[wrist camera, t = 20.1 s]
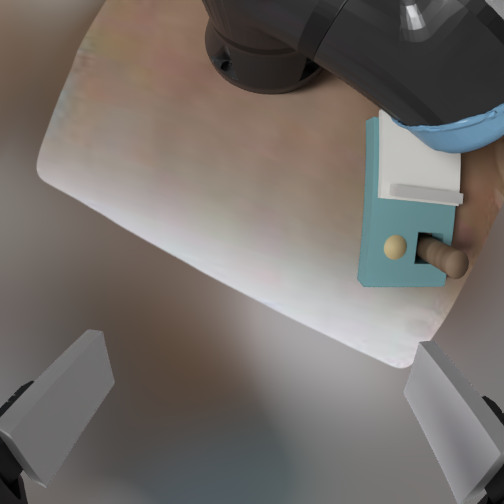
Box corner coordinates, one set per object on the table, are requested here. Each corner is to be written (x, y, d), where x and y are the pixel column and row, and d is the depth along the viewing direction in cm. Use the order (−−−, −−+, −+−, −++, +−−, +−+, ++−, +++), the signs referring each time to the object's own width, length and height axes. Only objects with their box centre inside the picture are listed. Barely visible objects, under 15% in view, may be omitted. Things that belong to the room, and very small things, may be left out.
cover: (378, 110, 29) (389, 105, 26) (455, 126, 29) (469, 124, 26) (377, 197, 32) (388, 199, 29) (454, 205, 31) (468, 208, 28)
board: (365, 120, 33) (374, 116, 30) (445, 135, 32) (457, 133, 29) (357, 279, 38) (364, 287, 35) (434, 279, 37) (444, 286, 34)
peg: (408, 254, 37) (445, 279, 27) (410, 232, 36) (449, 251, 26) (426, 254, 37) (466, 278, 27) (428, 232, 36) (470, 251, 26)
